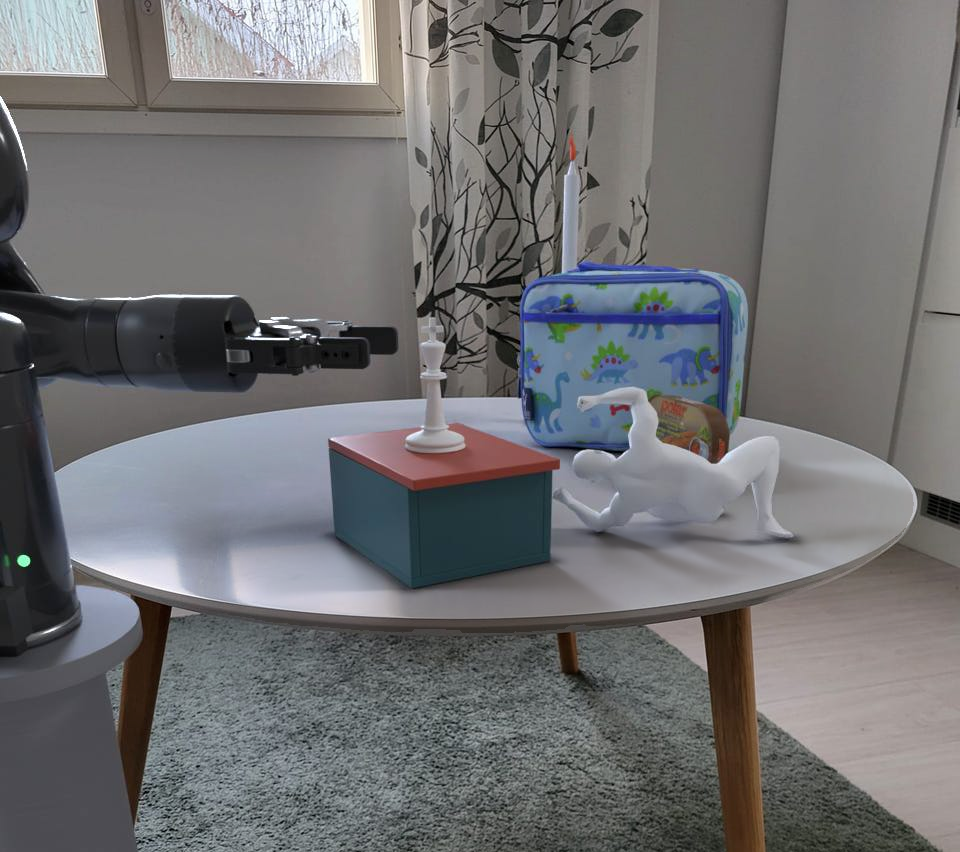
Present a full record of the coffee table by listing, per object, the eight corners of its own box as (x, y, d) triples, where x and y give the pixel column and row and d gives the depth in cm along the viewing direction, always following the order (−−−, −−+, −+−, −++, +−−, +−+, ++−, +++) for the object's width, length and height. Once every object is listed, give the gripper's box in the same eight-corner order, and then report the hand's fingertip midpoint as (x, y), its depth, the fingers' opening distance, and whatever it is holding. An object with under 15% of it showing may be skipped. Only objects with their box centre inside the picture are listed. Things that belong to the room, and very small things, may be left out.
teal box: (550, 561, 79) (553, 466, 75) (411, 589, 73) (407, 488, 70) (459, 514, 91) (458, 432, 88) (334, 535, 85) (328, 447, 82)
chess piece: (472, 451, 77) (471, 319, 73) (411, 455, 76) (407, 322, 72) (457, 438, 81) (455, 314, 77) (399, 442, 80) (394, 316, 76)
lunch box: (507, 445, 118) (508, 262, 110) (543, 429, 127) (546, 259, 119) (717, 468, 107) (736, 266, 99) (741, 448, 116) (760, 262, 108)
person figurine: (746, 392, 88) (582, 371, 80) (839, 450, 79) (665, 432, 70) (695, 520, 95) (538, 512, 86) (776, 586, 85) (609, 585, 77)
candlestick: (521, 415, 136) (524, 136, 122) (597, 414, 137) (609, 136, 123) (529, 431, 126) (533, 129, 112) (611, 429, 127) (626, 129, 113)
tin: (632, 464, 109) (636, 388, 106) (657, 461, 110) (662, 386, 107) (702, 497, 96) (710, 411, 93) (730, 494, 97) (738, 409, 94)
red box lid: (560, 469, 75) (560, 459, 74) (413, 491, 69) (413, 480, 69) (458, 431, 88) (457, 422, 88) (328, 447, 82) (327, 437, 82)
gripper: (141, 302, 70) (355, 303, 68) (220, 289, 83) (403, 290, 81) (155, 406, 73) (361, 411, 71) (230, 378, 86) (407, 381, 84)
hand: (383, 346), depth 76 cm, fingers open, 8 cm apart
